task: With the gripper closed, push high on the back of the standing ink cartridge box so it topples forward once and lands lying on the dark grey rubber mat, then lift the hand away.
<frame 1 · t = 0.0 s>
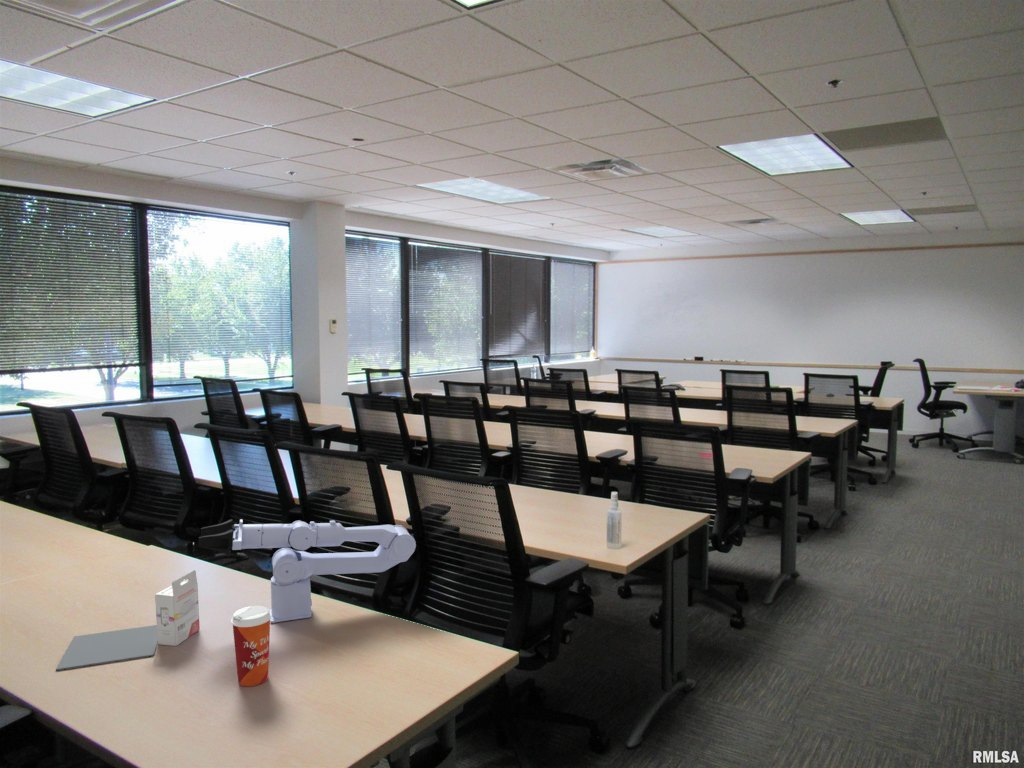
hand: (199, 537, 159), 22 cm above the table, tool horizontal, fingers open, 7 cm apart
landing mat: (112, 646, 151), on the table
ink cartridge box: (178, 638, 155), on the table
paper cup: (253, 680, 137), on the table
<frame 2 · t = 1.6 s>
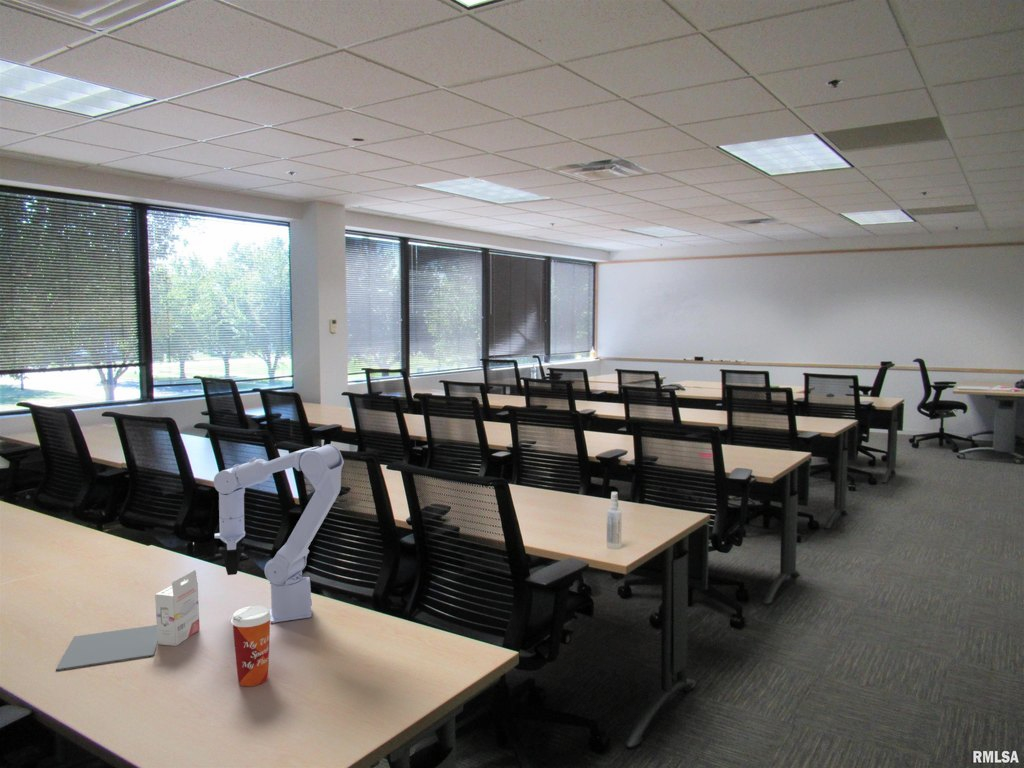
hand: (232, 569, 170), 10 cm above the table, tool pointing down, fingers open, 7 cm apart
nothing on the table moved.
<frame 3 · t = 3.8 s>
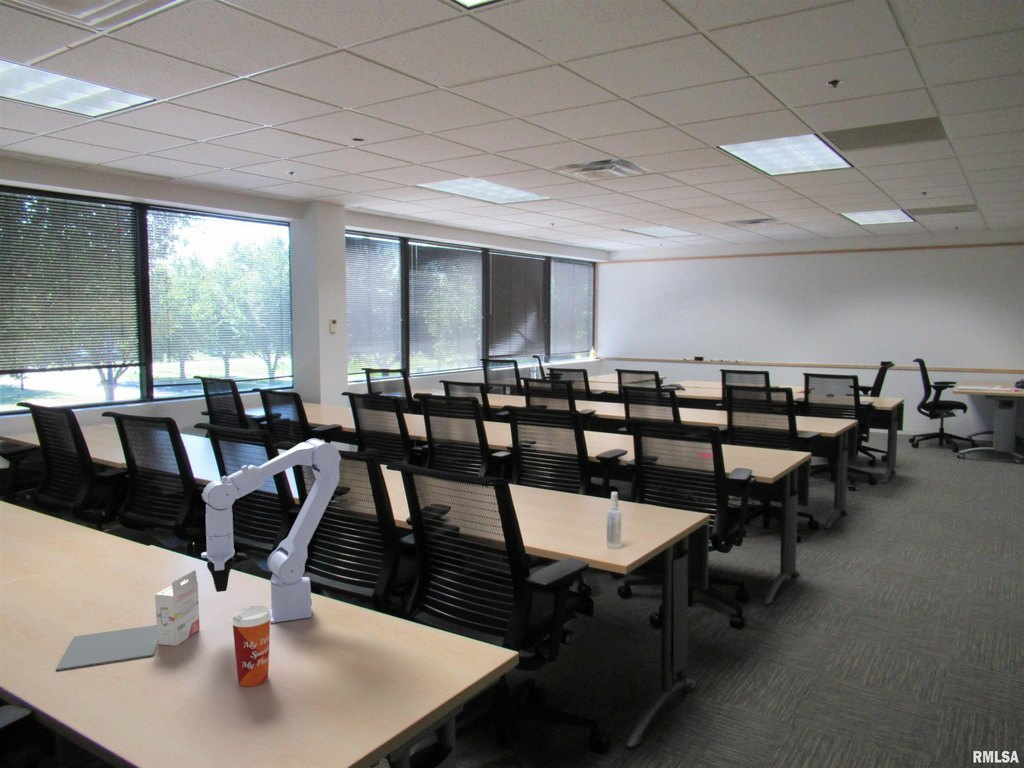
hand: (221, 590, 158), 10 cm above the table, tool pointing down, fingers closed
nothing on the table moved.
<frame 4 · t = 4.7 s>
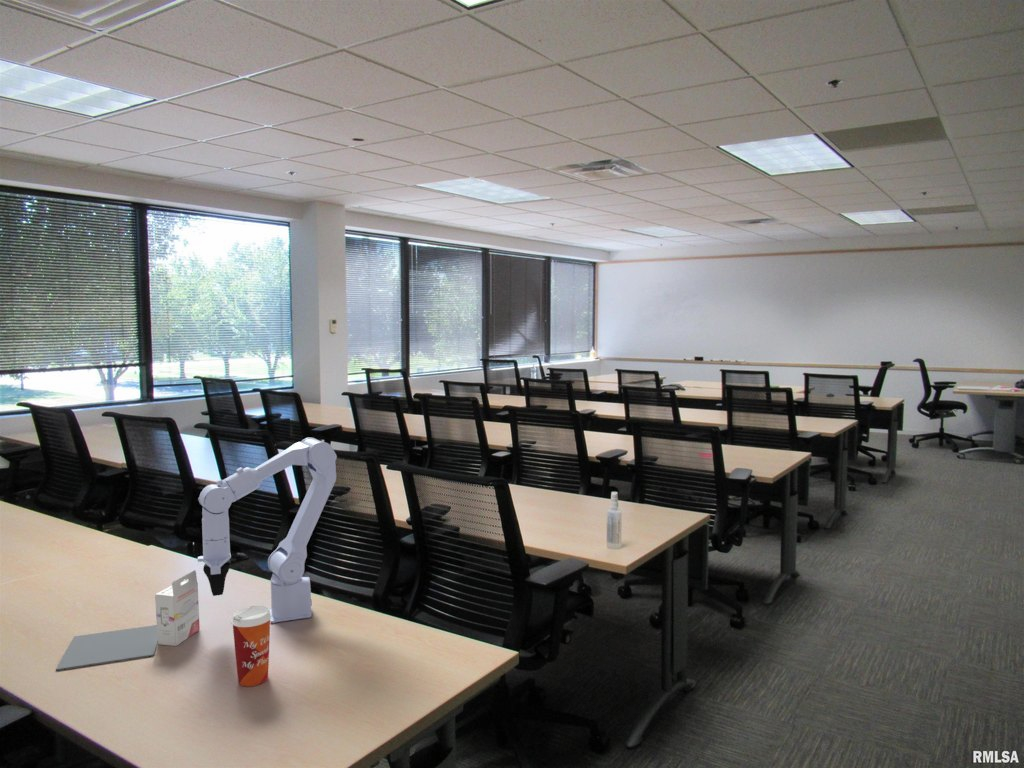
hand: (217, 594, 158), 9 cm above the table, tool pointing down, fingers closed
nothing on the table moved.
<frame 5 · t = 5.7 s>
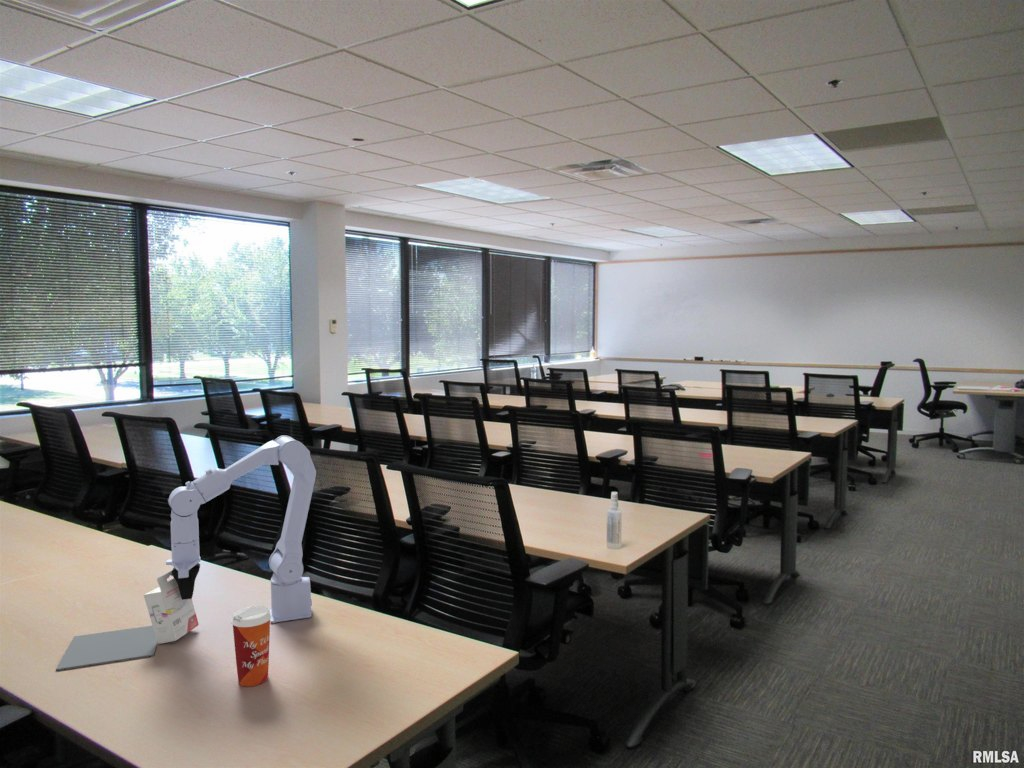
hand: (187, 598, 155), 9 cm above the table, tool pointing down, fingers closed
ink cartridge box: (178, 635, 155), on the table, touching gripper
everything else where it was.
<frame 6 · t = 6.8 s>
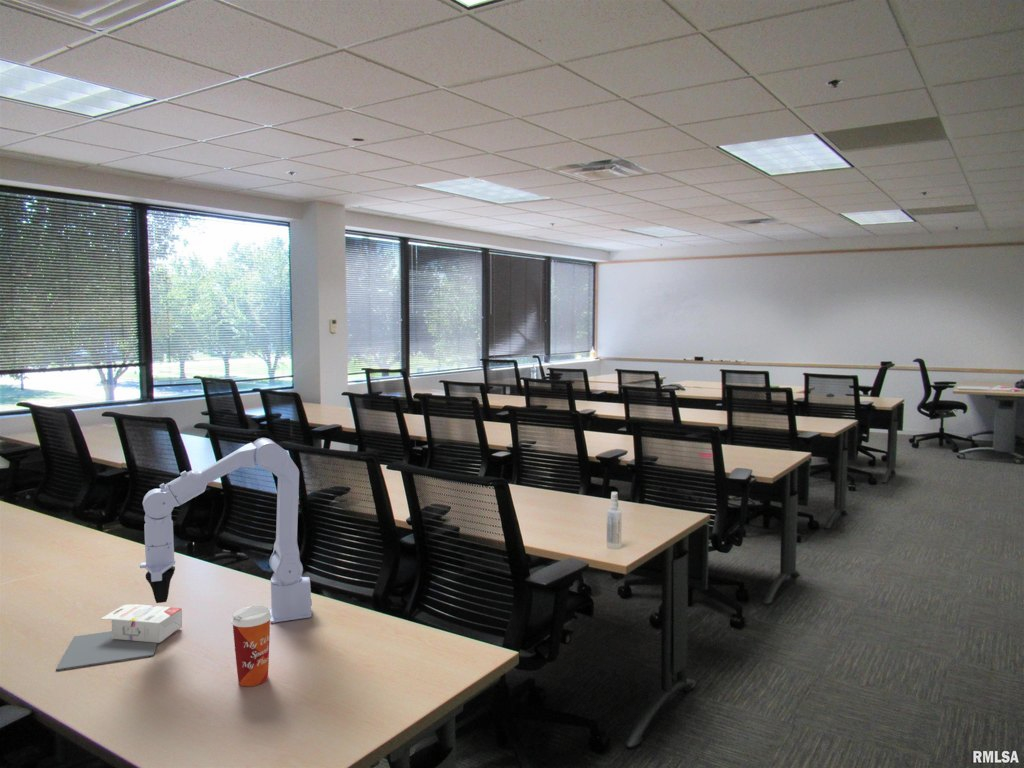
hand: (161, 601, 153), 9 cm above the table, tool pointing down, fingers closed
ink cartridge box: (171, 625, 155), point 3 cm above the table, touching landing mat
everything else where it was.
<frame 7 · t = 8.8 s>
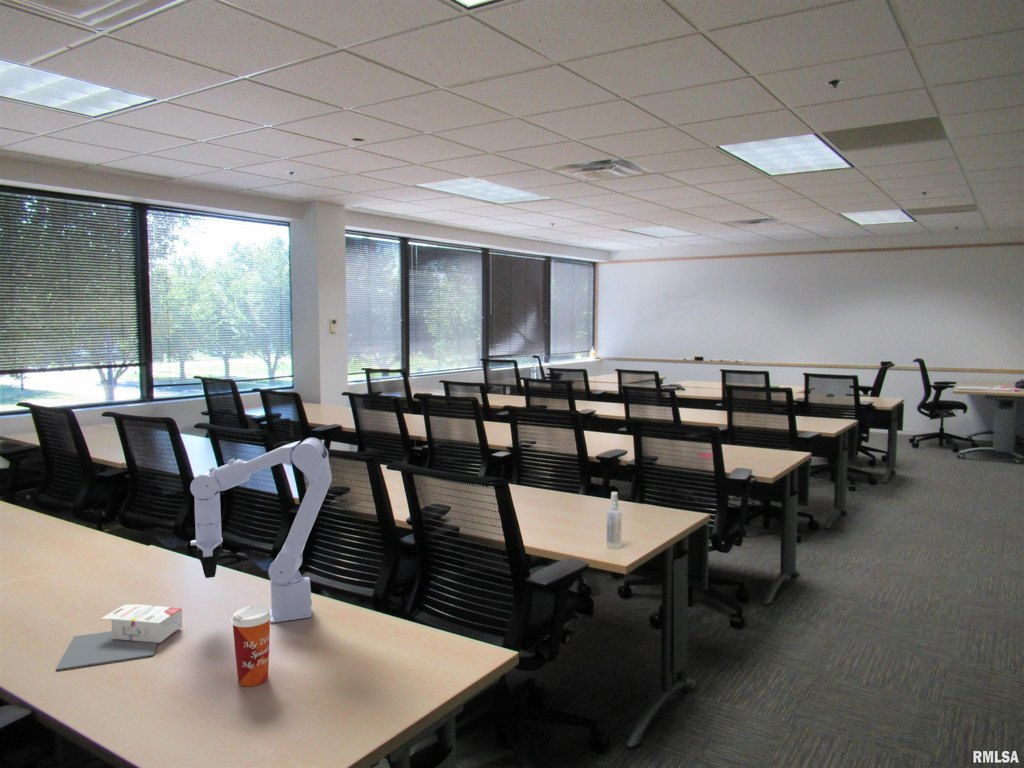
hand: (210, 576, 165), 10 cm above the table, tool pointing down, fingers closed
nothing on the table moved.
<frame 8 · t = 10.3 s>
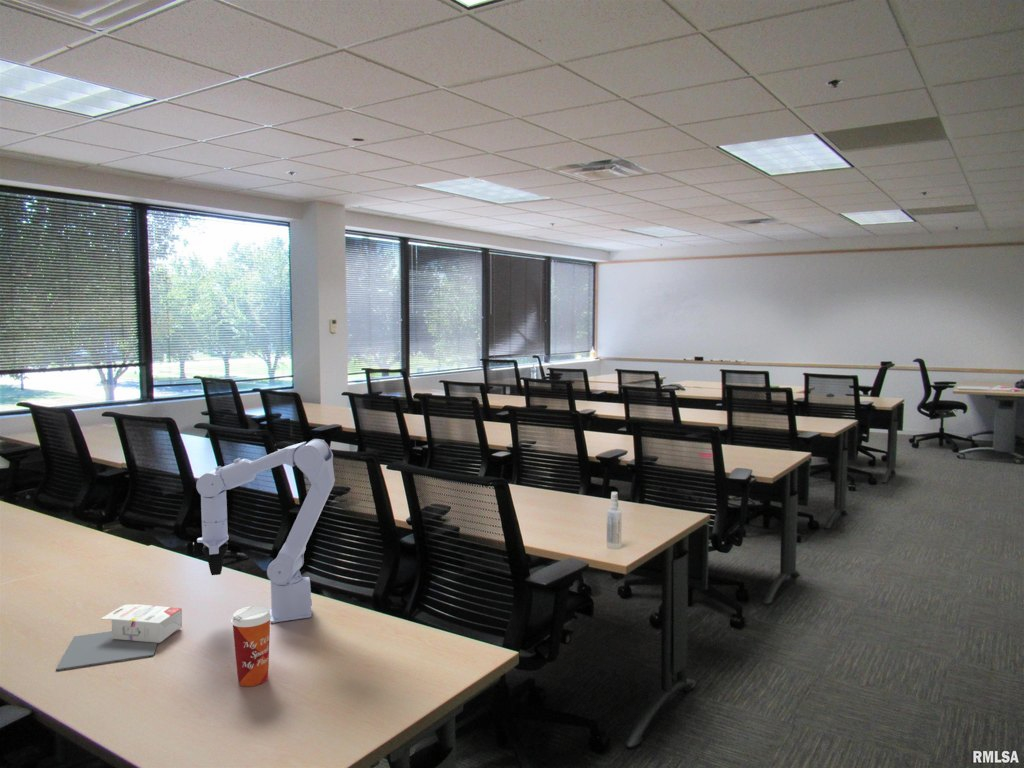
hand: (216, 574, 167), 10 cm above the table, tool pointing down, fingers closed
nothing on the table moved.
at the end: ink cartridge box tilted 89°; ink cartridge box touching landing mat; the gripper is holding nothing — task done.
